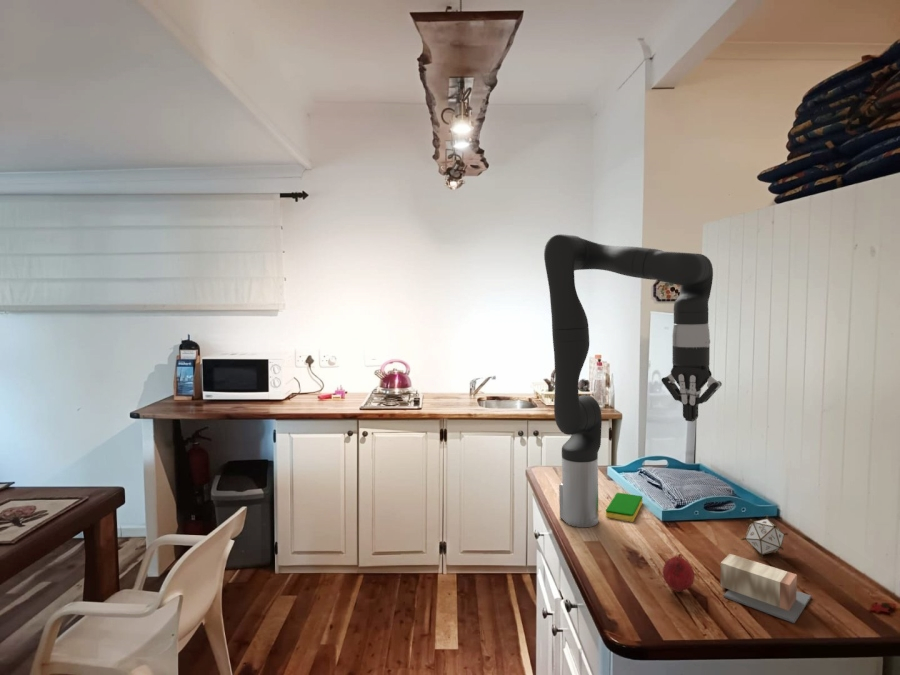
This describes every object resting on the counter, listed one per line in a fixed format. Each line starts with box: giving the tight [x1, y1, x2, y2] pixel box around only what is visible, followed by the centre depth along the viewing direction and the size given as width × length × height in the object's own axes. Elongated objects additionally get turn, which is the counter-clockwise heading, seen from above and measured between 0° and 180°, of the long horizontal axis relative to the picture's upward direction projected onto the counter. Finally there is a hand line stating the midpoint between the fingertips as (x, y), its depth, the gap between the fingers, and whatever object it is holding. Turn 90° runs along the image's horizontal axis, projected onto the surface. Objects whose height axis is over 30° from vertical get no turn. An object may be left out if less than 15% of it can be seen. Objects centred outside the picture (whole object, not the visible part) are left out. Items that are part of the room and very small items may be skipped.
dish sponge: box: [605, 492, 643, 522], centre depth 147 cm, size 7×14×2 cm, turn 150°
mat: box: [723, 589, 812, 624], centre depth 104 cm, size 12×11×1 cm
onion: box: [662, 552, 695, 593], centre depth 107 cm, size 6×6×8 cm
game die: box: [740, 515, 789, 559], centre depth 120 cm, size 9×8×10 cm
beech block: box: [720, 553, 798, 611], centre depth 104 cm, size 5×5×12 cm
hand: (690, 420), depth 119 cm, fingers closed
